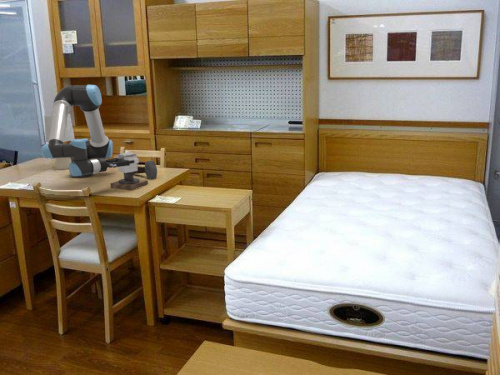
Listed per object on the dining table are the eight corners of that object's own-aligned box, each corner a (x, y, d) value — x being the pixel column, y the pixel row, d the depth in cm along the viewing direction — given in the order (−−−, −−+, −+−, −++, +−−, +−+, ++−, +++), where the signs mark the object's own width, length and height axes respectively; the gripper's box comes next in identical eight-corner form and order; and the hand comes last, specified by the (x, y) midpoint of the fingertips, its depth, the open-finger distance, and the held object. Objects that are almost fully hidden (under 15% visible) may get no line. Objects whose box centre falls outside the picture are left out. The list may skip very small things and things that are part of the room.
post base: (132, 190, 280) (130, 174, 278) (110, 187, 287) (109, 172, 285) (148, 184, 292) (146, 169, 290) (127, 182, 299) (125, 167, 297)
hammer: (123, 179, 323) (152, 179, 303) (121, 162, 321) (149, 161, 301) (130, 177, 326) (158, 178, 306) (127, 161, 324) (155, 160, 304)
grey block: (125, 173, 281) (123, 155, 279) (118, 171, 287) (116, 154, 285) (137, 170, 287) (136, 153, 284) (130, 168, 292) (129, 152, 290)
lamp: (74, 170, 336) (67, 115, 326) (45, 171, 334) (38, 116, 325) (80, 164, 354) (75, 112, 344) (54, 165, 352) (47, 113, 343)
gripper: (90, 169, 282) (126, 163, 297) (107, 175, 267) (144, 168, 282) (89, 156, 280) (125, 151, 295) (106, 161, 265) (143, 155, 280)
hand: (134, 159), depth 289 cm, fingers closed on grey block, 8 cm apart
